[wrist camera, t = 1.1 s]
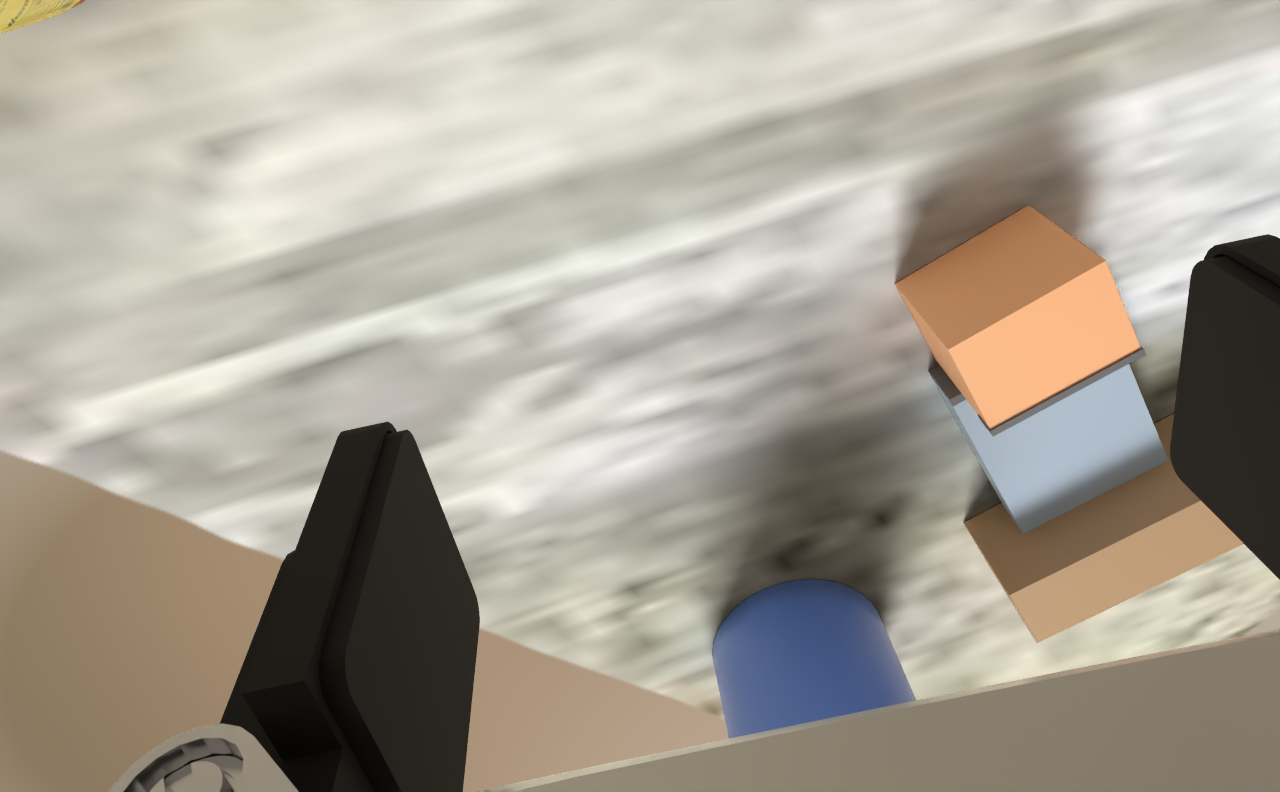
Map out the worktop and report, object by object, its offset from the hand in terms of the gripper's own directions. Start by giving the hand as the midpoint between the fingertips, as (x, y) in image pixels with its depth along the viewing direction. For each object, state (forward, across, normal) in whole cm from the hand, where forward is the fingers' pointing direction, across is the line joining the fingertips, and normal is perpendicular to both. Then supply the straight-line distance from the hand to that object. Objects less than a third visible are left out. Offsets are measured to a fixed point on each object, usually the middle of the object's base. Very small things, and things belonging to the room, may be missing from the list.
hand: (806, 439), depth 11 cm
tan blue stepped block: (+25, -15, +20) cm, 36 cm away
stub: (+25, -12, +12) cm, 31 cm away
